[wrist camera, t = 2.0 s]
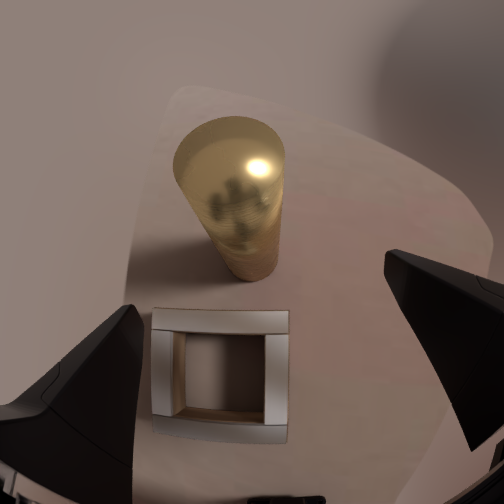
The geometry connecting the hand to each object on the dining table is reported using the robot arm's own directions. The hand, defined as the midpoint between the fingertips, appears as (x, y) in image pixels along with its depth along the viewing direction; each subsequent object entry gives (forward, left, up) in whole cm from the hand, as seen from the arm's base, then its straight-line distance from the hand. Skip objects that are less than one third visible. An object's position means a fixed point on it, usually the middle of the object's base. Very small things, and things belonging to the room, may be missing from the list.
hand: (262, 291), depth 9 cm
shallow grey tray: (-4, +3, -11) cm, 13 cm away
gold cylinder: (+5, +1, -11) cm, 12 cm away
